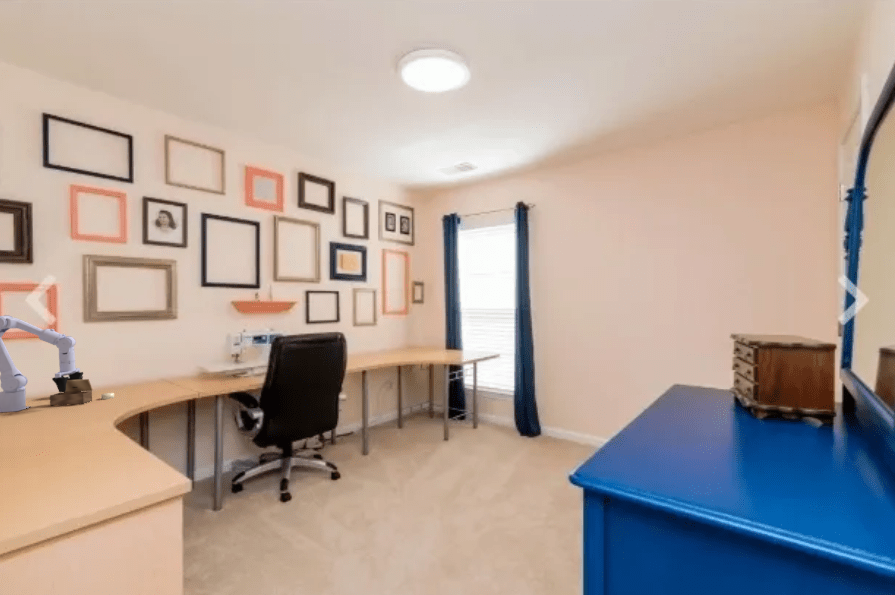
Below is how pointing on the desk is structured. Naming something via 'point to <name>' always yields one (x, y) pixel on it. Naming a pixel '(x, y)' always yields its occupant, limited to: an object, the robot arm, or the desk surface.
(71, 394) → the walnut box
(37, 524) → the desk surface
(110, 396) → the cream domed disc
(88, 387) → the lid
